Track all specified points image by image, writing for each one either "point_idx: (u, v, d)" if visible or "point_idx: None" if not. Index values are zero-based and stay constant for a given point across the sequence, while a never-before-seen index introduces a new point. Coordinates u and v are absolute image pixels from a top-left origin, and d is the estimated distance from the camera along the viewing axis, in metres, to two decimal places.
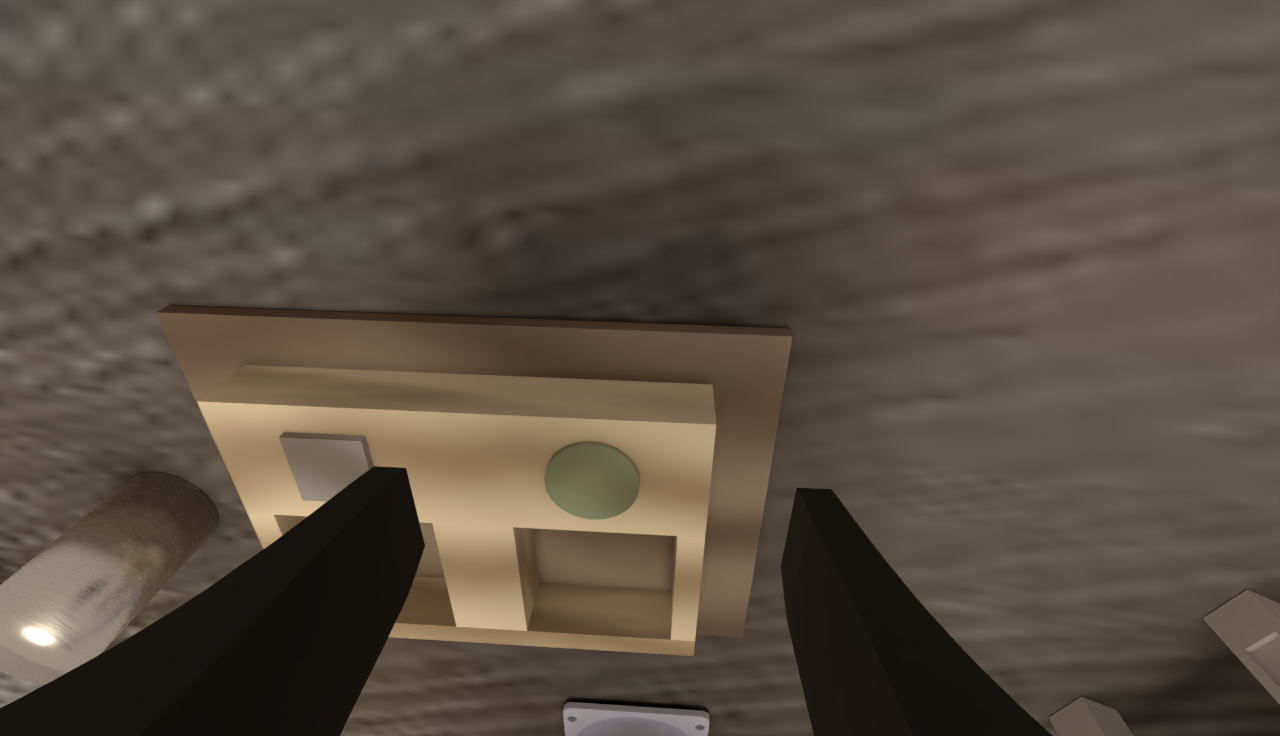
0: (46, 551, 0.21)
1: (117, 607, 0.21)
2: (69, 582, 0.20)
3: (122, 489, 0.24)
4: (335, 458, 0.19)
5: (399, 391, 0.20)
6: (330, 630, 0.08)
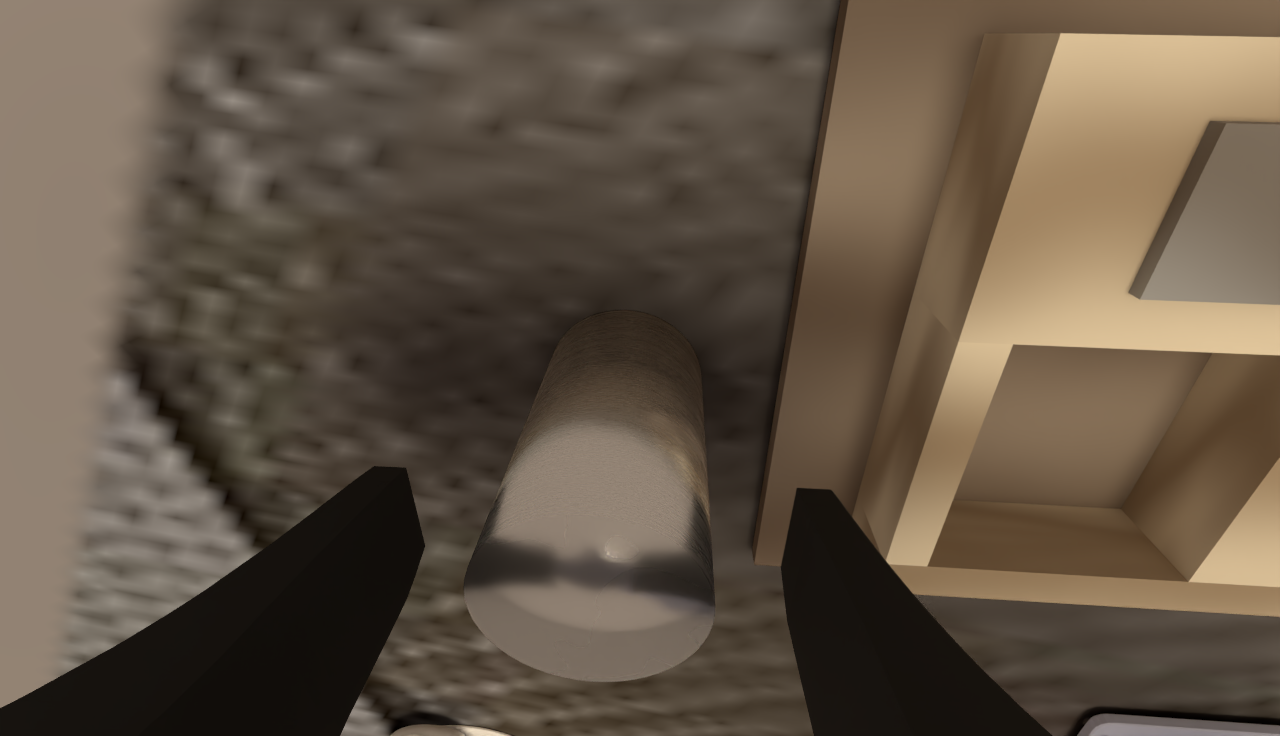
0: (571, 412, 0.11)
1: None
2: (666, 465, 0.10)
3: (597, 331, 0.13)
4: None
5: None
6: (330, 630, 0.08)
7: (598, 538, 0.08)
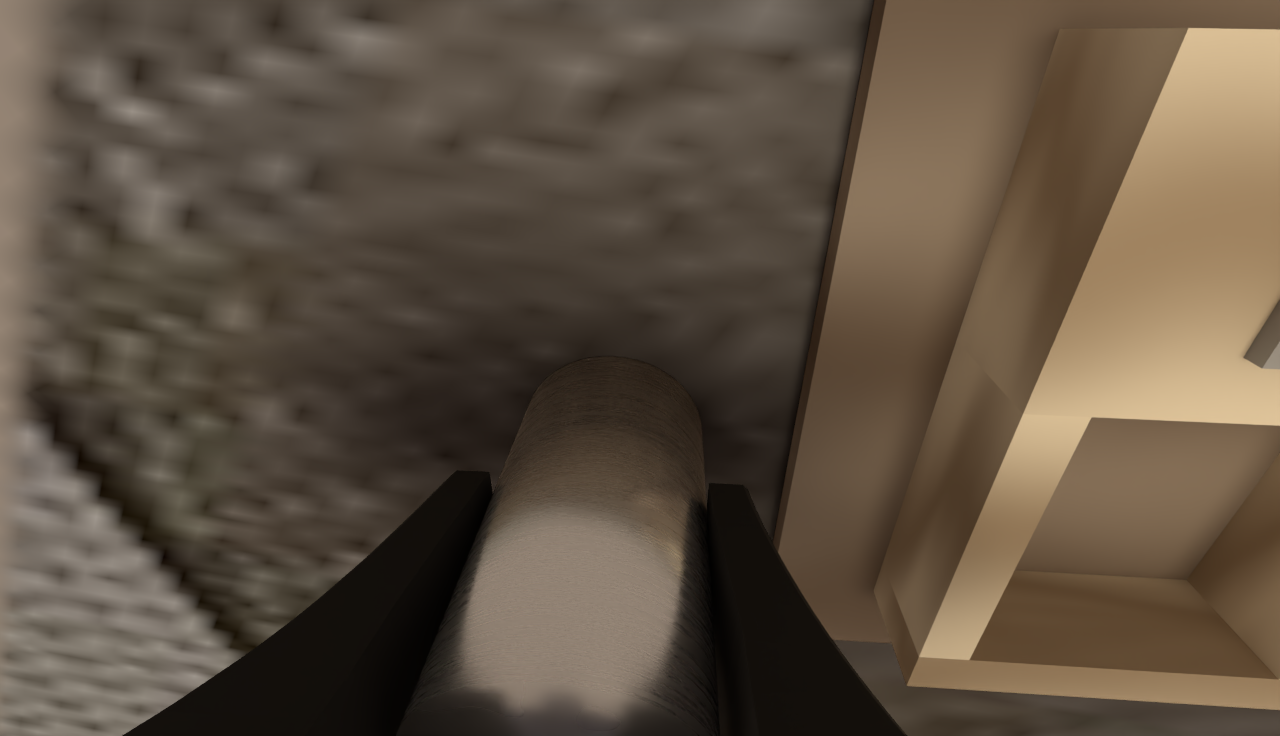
0: (540, 506, 0.08)
1: (714, 648, 0.08)
2: (659, 586, 0.07)
3: (577, 385, 0.11)
4: None
5: None
6: (432, 636, 0.08)
7: (566, 708, 0.06)
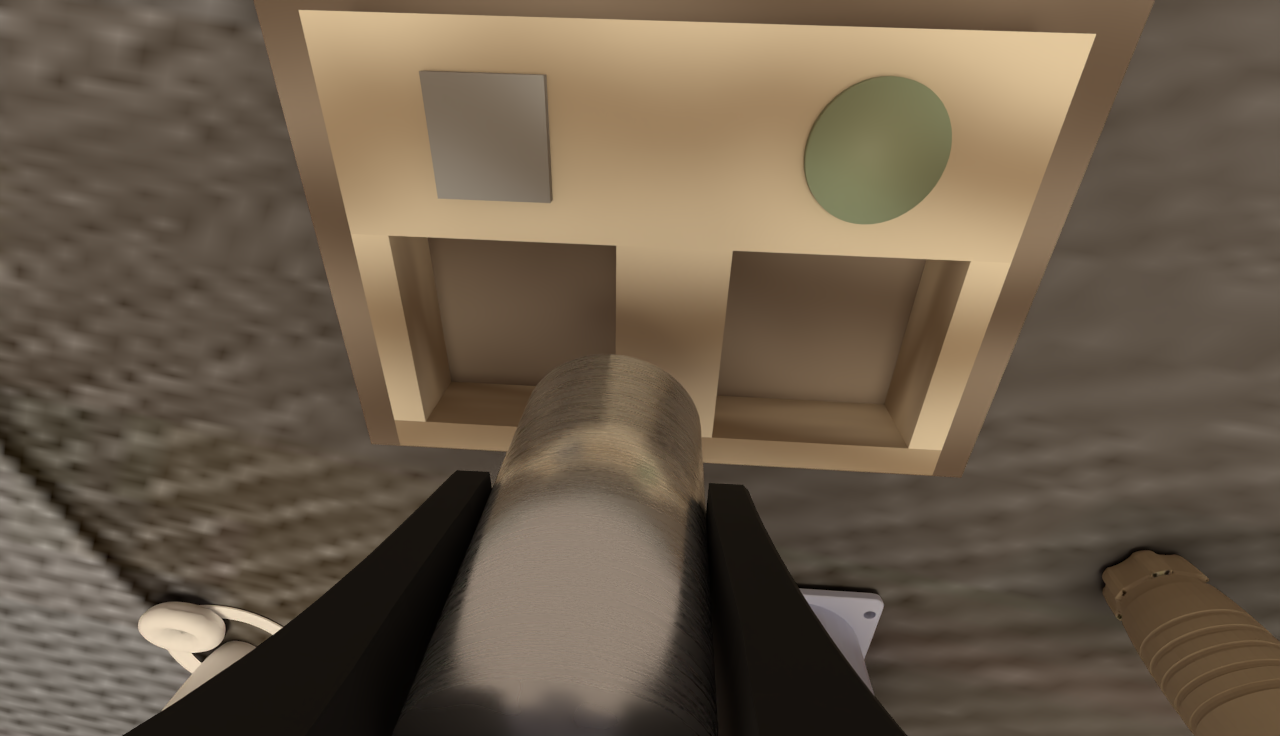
0: (537, 504, 0.08)
1: None
2: (656, 583, 0.07)
3: (576, 383, 0.11)
4: (499, 112, 0.13)
5: None
6: None
7: (562, 705, 0.06)
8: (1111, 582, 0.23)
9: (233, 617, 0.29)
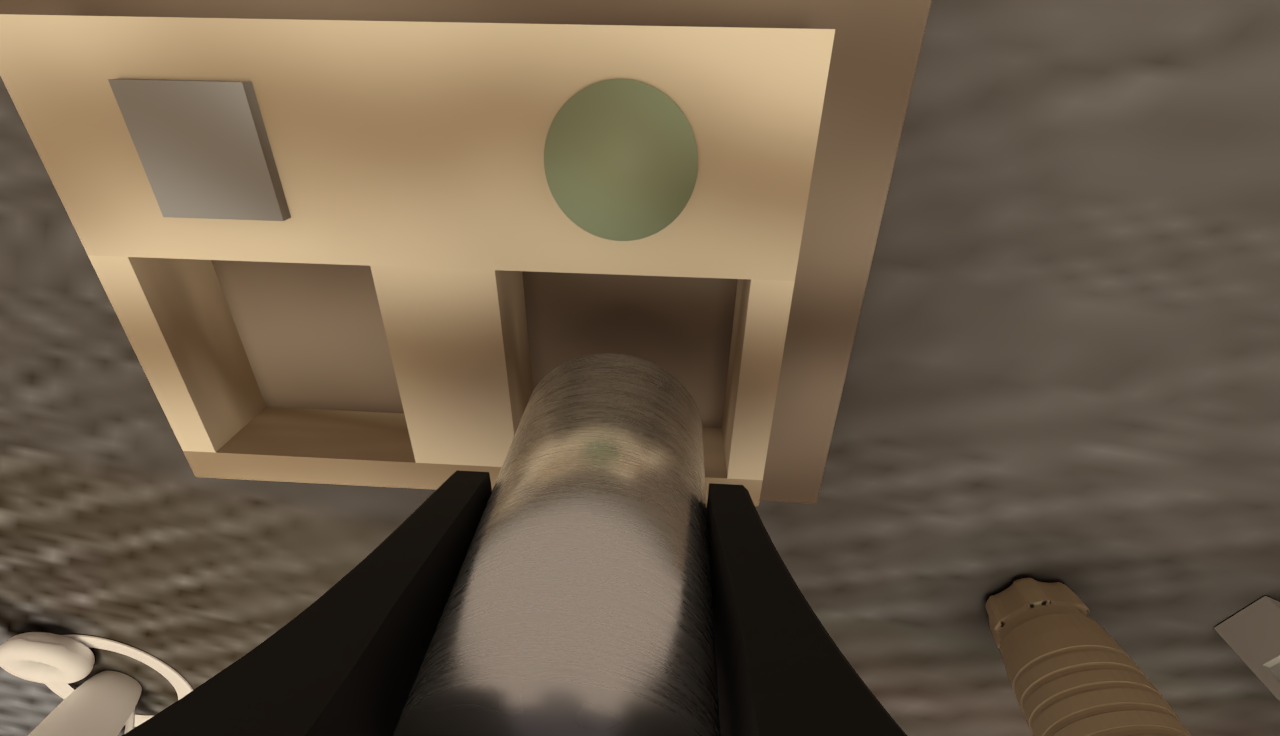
0: (538, 503, 0.08)
1: None
2: (658, 582, 0.07)
3: (577, 382, 0.11)
4: (204, 123, 0.12)
5: None
6: None
7: (565, 705, 0.06)
8: (992, 612, 0.22)
9: (101, 647, 0.28)
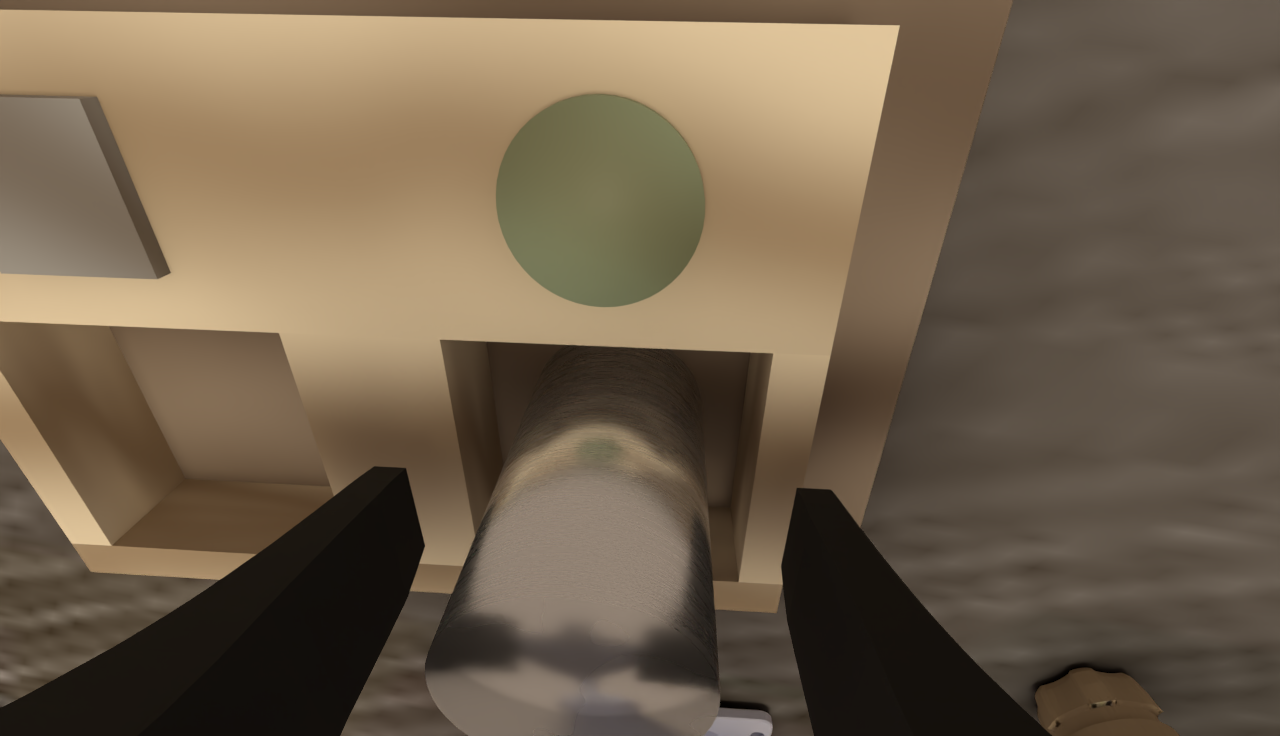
0: (553, 459, 0.09)
1: (712, 589, 0.09)
2: (662, 526, 0.08)
3: (585, 357, 0.12)
4: (36, 153, 0.09)
5: None
6: (330, 630, 0.08)
7: (581, 623, 0.07)
8: (1044, 707, 0.19)
9: None
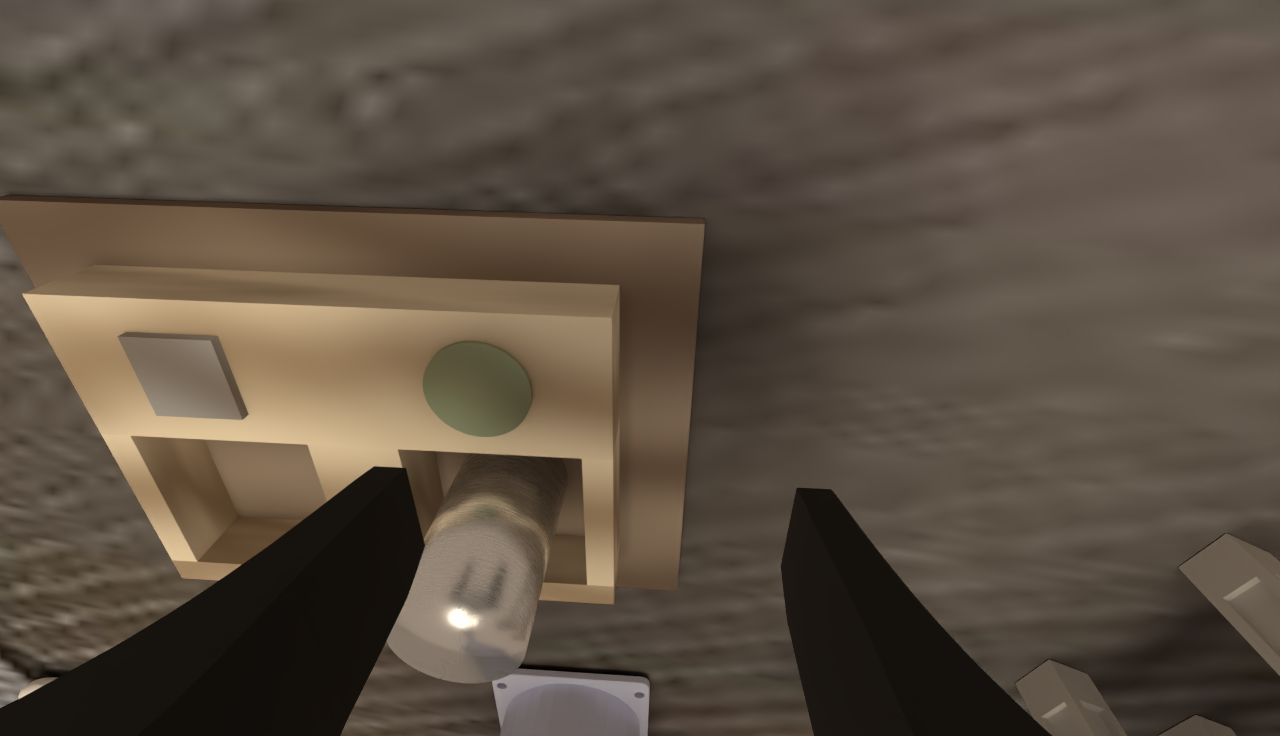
0: (454, 520, 0.17)
1: (538, 589, 0.17)
2: (503, 557, 0.16)
3: None
4: (185, 362, 0.17)
5: (259, 287, 0.17)
6: (330, 630, 0.08)
7: (452, 604, 0.15)
8: None
9: None
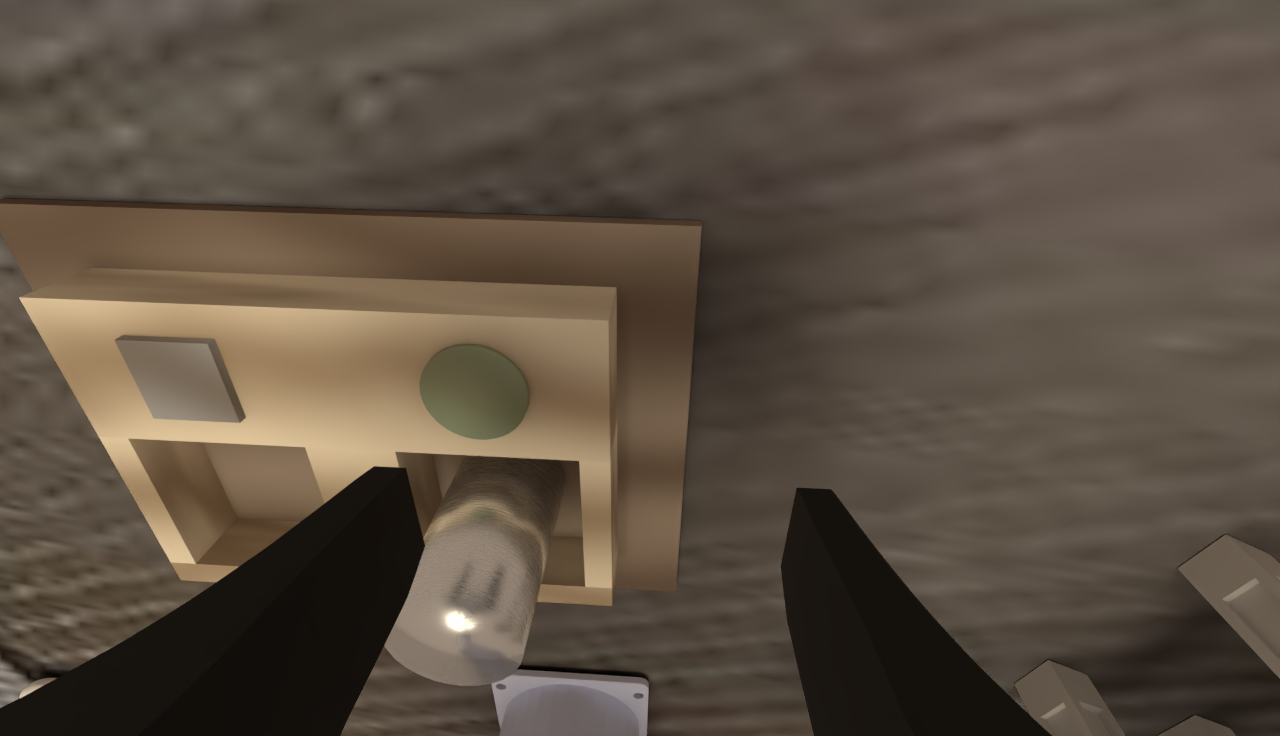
0: (451, 523, 0.17)
1: (536, 592, 0.17)
2: (501, 560, 0.16)
3: None
4: (181, 365, 0.17)
5: (256, 290, 0.17)
6: (330, 630, 0.08)
7: (450, 608, 0.15)
8: None
9: None
